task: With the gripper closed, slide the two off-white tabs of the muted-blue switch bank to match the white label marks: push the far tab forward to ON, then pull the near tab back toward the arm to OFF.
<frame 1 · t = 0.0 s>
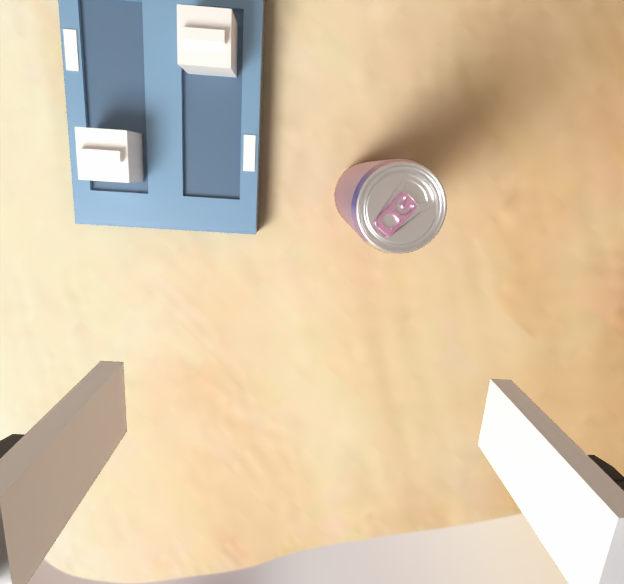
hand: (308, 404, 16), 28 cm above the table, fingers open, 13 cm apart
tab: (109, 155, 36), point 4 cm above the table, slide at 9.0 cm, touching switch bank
beverage can: (365, 195, 42), on the table
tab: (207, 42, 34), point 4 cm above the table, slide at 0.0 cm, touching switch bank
switch bank: (170, 113, 39), on the table
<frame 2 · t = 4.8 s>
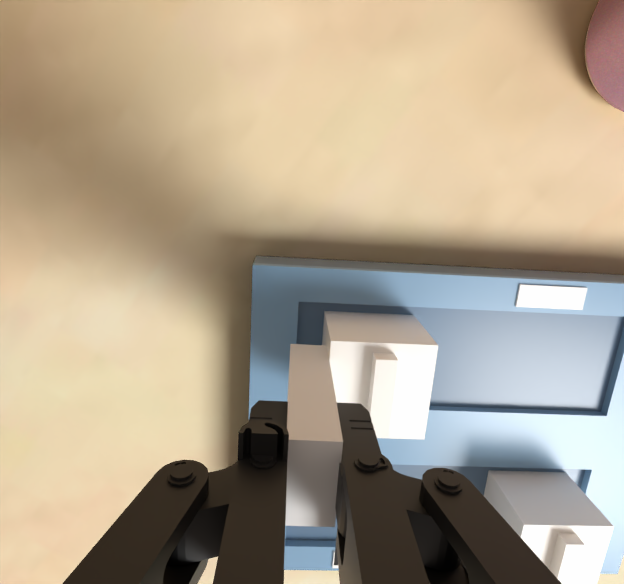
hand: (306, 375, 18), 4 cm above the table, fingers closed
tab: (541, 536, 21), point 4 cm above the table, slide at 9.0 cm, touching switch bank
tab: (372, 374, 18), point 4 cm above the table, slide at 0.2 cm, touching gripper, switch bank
switch bank: (444, 416, 23), on the table
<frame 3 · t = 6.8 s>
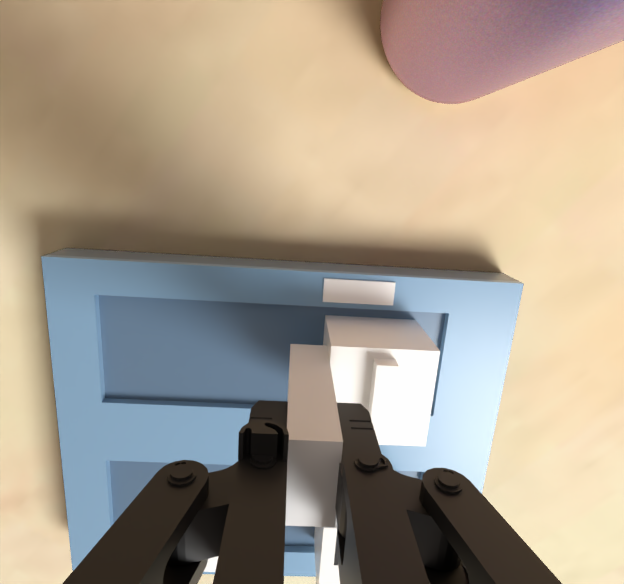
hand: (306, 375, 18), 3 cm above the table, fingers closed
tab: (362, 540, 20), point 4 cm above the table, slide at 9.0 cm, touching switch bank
beverage can: (448, 28, 18), on the table
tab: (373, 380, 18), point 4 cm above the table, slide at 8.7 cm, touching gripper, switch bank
switch bank: (281, 415, 22), on the table
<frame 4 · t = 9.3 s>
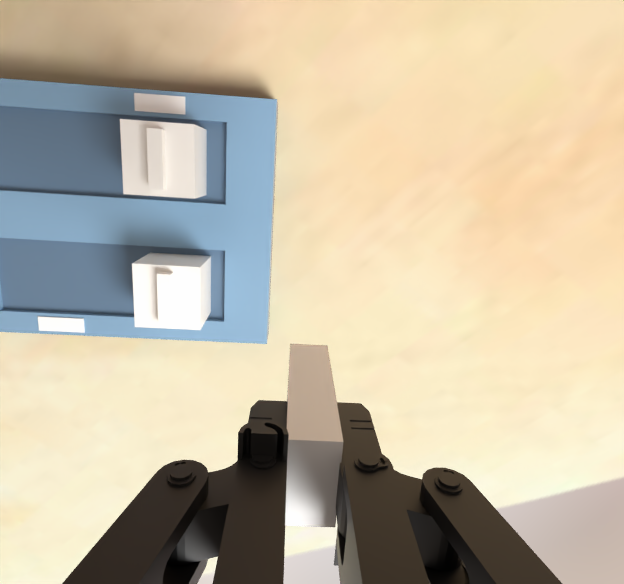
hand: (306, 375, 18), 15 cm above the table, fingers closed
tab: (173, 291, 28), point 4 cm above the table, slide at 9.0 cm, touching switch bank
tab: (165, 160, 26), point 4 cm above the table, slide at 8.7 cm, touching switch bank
switch bank: (127, 217, 30), on the table
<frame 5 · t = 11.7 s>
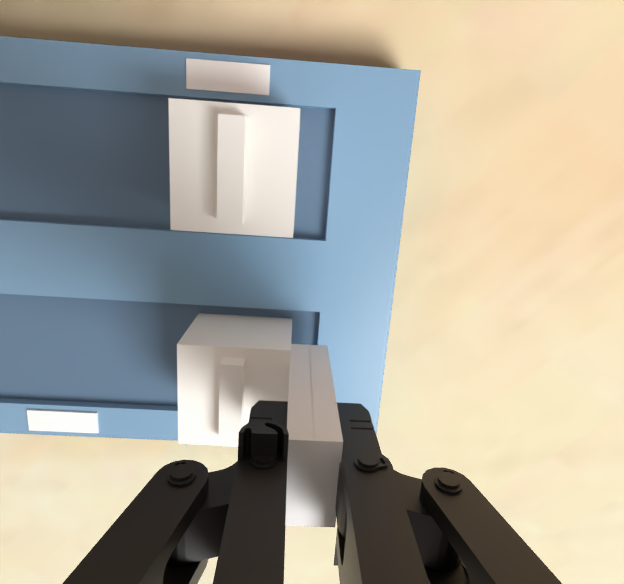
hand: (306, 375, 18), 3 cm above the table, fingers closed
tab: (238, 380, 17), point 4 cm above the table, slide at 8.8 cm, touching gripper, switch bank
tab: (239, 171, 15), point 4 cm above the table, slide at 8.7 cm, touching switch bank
switch bank: (165, 257, 20), on the table
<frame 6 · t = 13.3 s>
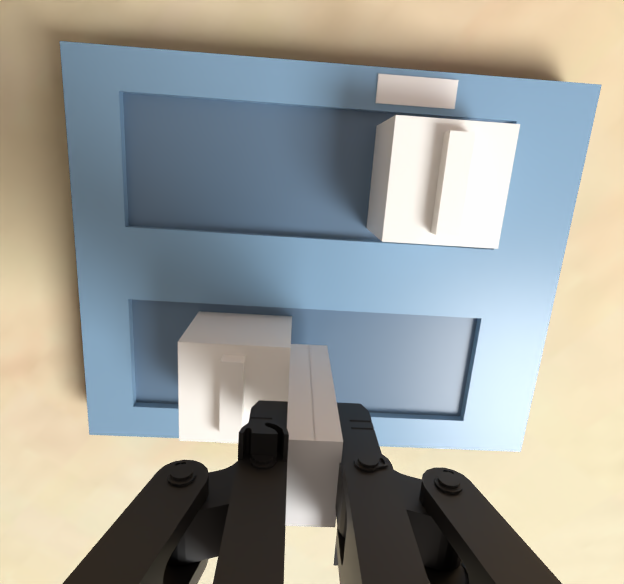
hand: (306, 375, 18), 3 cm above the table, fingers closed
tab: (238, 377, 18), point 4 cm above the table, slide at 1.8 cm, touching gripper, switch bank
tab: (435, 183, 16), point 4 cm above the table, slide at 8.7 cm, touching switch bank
switch bank: (320, 265, 20), on the table
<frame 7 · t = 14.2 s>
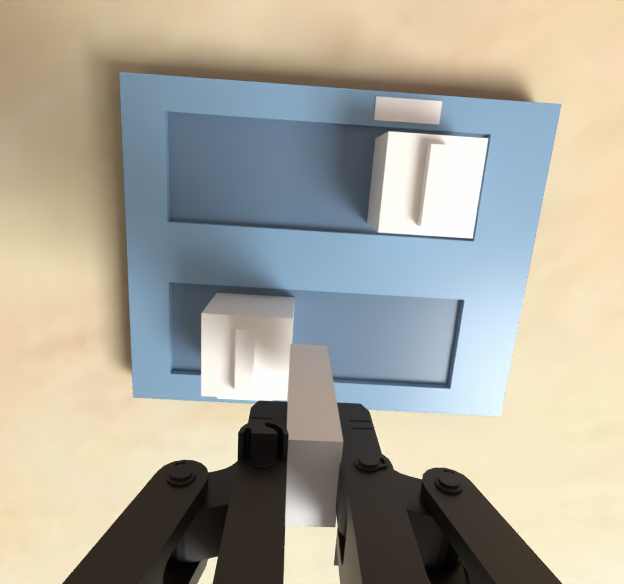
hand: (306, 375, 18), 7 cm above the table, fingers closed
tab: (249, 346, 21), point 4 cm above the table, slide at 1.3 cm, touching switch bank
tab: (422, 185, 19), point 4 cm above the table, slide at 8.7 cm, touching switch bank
switch bank: (328, 255, 24), on the table
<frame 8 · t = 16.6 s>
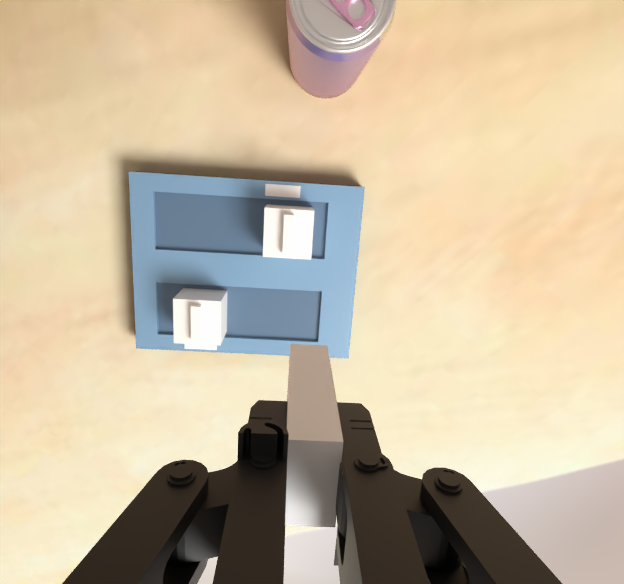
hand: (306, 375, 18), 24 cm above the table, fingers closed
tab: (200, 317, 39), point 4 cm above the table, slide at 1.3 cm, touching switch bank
beverage can: (325, 61, 37), on the table
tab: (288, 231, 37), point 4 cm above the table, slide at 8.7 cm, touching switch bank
switch bank: (248, 266, 42), on the table
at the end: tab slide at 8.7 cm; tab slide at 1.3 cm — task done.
